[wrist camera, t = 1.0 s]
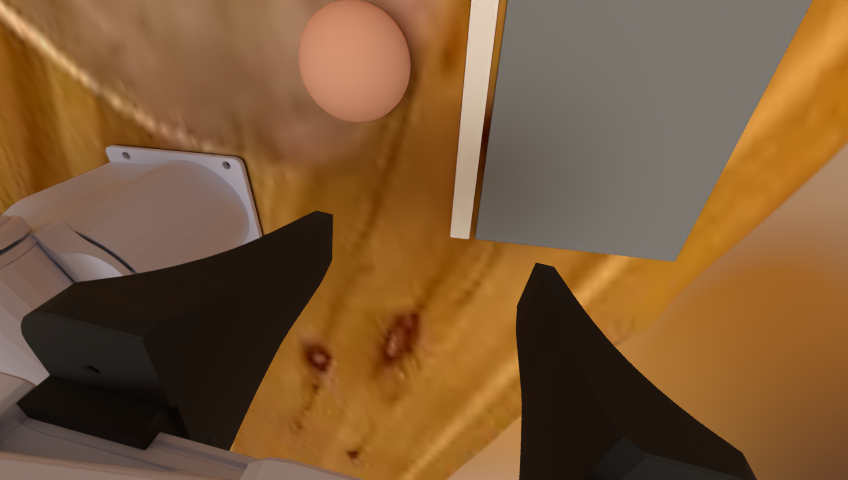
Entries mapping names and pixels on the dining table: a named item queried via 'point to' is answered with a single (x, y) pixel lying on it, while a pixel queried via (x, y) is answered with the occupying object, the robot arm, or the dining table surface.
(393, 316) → the dining table surface
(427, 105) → the dining table surface
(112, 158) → the robot arm
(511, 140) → the mat
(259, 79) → the dining table surface
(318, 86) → the ball
